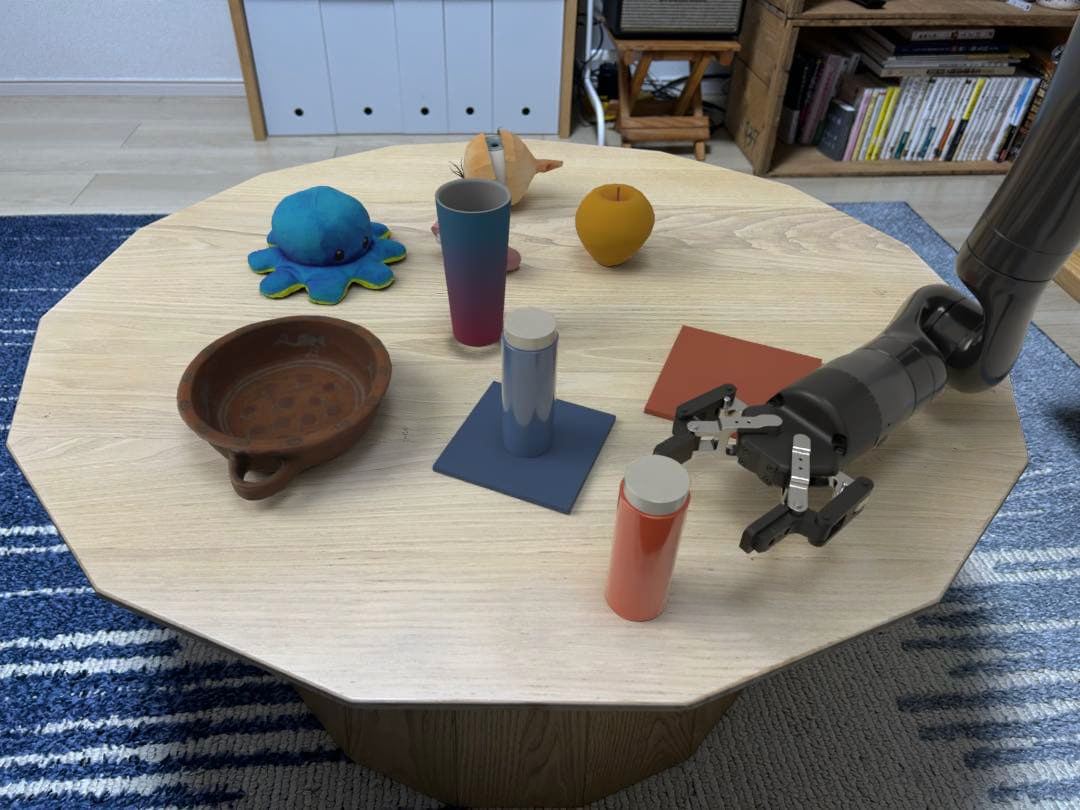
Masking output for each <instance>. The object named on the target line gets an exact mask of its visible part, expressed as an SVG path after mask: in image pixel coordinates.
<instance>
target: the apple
mask: <svg viewBox="0 0 1080 810" xmlns="http://www.w3.org/2000/svg"><path fill="white" fill-rule="evenodd" d="M654 211H655V210H654V208H653V205H652V203H651V202H650V201H649V199H648V198H647V196H646V195H645V194H644V193H643V192H642V191H641V190H639V189H638V188H636V187H634V186H632V185H629V184H625V183H605V184H602V185H599V186H597V187H594V188H593V189H592V190H590V191H589V192H588V194H586V195H585V196H584V197H583V198H582V199H581V200H580V202H579V205H578V207H577V209H576V212H575V216H574V223H575V224H574V227H575V230H576V234H577V236H578V239H579V241H580V242H581V244H582V245H583V247H584V249H585V250H586V252H587V253H588V254H589V255H590V257H591V258H592V260H594V261H595V262H597V263H598V264H599V265H602V266H604V267H613V266H618V265H621V264H623V263H625V262H626V261H628V260H629V259H630V258H631V257H632V256H633V255H635V254H636V253H637V252H639V251H640V250H641V249H642V247H643V246H644V245H645V243H646V242H647V240H648V239H649V237H650V236H651V234H652V232H653V229H654V226H655V223H656V214H655V212H654Z"/></svg>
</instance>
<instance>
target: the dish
mask: <svg viewBox="0 0 1080 810" xmlns="http://www.w3.org/2000/svg"><path fill="white" fill-rule="evenodd" d="M392 374H393V366H392V362H391V357H390V354H389V351H388V349H387V348H386V346H385V344H384V343H383V342H382V340H381V339H380V338H378V336H376V335H375V334H374V333H373V332H371V331H370V330H369V329H367V328H366V327H364V326H362V325H360V324H357V323H354V322H351V321H349V320H345V319H342V318H337V317H332V316H327V315H316V314H313V315H312V314H299V315H298V314H297V315H289V316H282V317H276V318H271V319H266V320H262V321H257V322H254V323H249V324H247V325H244V326H242V327H238V328H237V329H235V330H233V331H229V332H228V333H226V334H224V335H223V336H221V337H219V338H217V339H215V340H214V341H212V342H211V343H210V344H207V346H205V347H204V348H203V349H201V351H199V353H198V354H196V355H195V357H194V358H193V359H192V360H191V361H190V363H188V366H187V367H185V370H184V371H183V373H182V375H181V378H180V380H179V383H178V387H177V390H176V407H177V411H178V413H179V415H180V418H181V419H182V420H183V422H184V423H185V425H186V426H187V427H188V429H190V430H191V431H192V432H193V433H195V435H197V436H198V437H199V438H201V439H202V440H203V441H206V442H207V443H208V444H209V445H210V446H211V447H212V448H213V449H214V450H216V451H217V452H218V453H219V454H221V456H223V457H224V458H225V459H227V460H228V466H227V467H228V468H227V470H228V475H229V479H230V482H231V485H232V487H233V489H234V491H235V493H236V494H237V495H238V497H240V498H241V499H243V500H246V501H249V502H251V501H252V502H256V501H260V500H261V501H262V500H265V499H268V498H271V497H274V496H275V495H277V494H279V493H280V492H282V491H284V490H285V489H286V488H287V487H288V486H289V485H290V484H291V483H292V482H293V480H294V479H295V478H296V477H297V476H298V474H299V473H300V472H301V471H302V470H304V469H307V468H310V467H314V466H317V465H319V464H322V463H324V462H327V461H329V460H331V459H333V458H335V457H337V456H339V455H341V454H342V453H344V452H346V451H347V450H348V449H350V448H351V447H353V445H355V444H356V443H357V442H358V441H359V440H360V439H361V438H362V437H363V436H364V435H365V433H366V432H367V431H368V430H369V428H370V427H371V426H372V424H373V421H374V420H375V417H376V416H377V413H378V410H379V407H380V405H381V402H382V400H383V398H384V397H385V395H386V393H387V391H388V389H389V387H390V383H391V379H392ZM251 471H254V472H255V471H256V472H275V473H274V474H271V475H270V476H269V477H267V478H266V479H263V480H261V481H255V482H252V481H246V480H244V479H245V476H246V475H247V473H248V472H251Z"/></svg>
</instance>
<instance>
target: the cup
mask: <svg viewBox="0 0 1080 810" xmlns="http://www.w3.org/2000/svg"><path fill="white" fill-rule="evenodd" d="M511 198H512V195H511V191H510V190H509V188H507V187H506V186H505V185H503V184H502V183H499V182H497V181H494V180H490V179H484V178H463V179H462V178H457V179H453V180H451V181H447V182H445V183H443V184H442V185H440V186H439V187H438V188H437V189H436V191H435V193H434V202H435V208H436V217H437V221H438V225H439V232H440V239H441V246H440V247H441V254H442V261H443V268H444V276H445V282H446V283H445V284H446V290H447V298H448V299H447V300H448V305H449V306H448V307H449V313H450V322H451V329H452V334H453V337H454V338H455V339H456V341H458V342H459V343H461V344H463V345H466V346H469V347H486V346H489V345H492V344H494V343H496V342H497V341H499V339H501V334H502V331H503V329H504V317H505V316H504V314H505V303H506V302H505V301H506V286H507V272H508V271H507V257H508V246H509V243H510V241H509V240H510V229H511V228H510V227H511V214H512V213H511V212H512V206H511Z"/></svg>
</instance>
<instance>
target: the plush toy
mask: <svg viewBox="0 0 1080 810" xmlns="http://www.w3.org/2000/svg"><path fill="white" fill-rule="evenodd" d="M270 223H271V225H270V226H271V230H270V231H269V232H268V234H267V235H266V243H267V246H268V247H266V248H263V249H258V250H254V251H252V252H250V253H249V254H248V255H247V263H248V266H249V267H250V270H251V271H252V272H253V273H256V274H264V273H268V272H269V274H267V275H266V276H264V278H262V280H261V281H260V282H259V289H258V291H259V292H260V293H261V294H263V296H265V297H269V298H271V299H272V298H273V299H275V298H283V297H285V296H288V295H290V294H291V293H294V292H296V291H299V290H300V289H302V288H305V290H306V292H307V298H308V300H309V302H312V303H317V304H318V305H327V306H329V305H336V304H339V303H340V302H341V301H343V299H344V297H346V296H347V295H346V294H347V293H348V290H349V287H350V286H351V284H352V283H353V282H354V283H357V284H359V285H361V286H363V287H364V288H366V289H371V290H372V289H374V290H380V289H383V288H386V287H389V286H390V285H391V284H392V283H393V281H394V280H395V279H396V276H395V273H394V271H393V270H392V268H390V266H388V265H387V264H388V263H393V262H398V261H400V260H403V259H404V258H406V257H407V254H408V253H407V252H408V251H407V248H406V246H405V245H404V244H403V243H401V242H400V241H397V240H392V239H390V238H389V236H391V230H390V229H389V227H388V226H387V225H386V224H383V223H381V222H377V221H371V217H370V215H369V213H368V210H367V208H366V207H365V206H364V204H363V203H362V202H361V201H360V200H358V199H357V198H355V197H354V196H352V195H350V194H347V193H345V192H343V191H341V190H339V189H337V188H335V187H332V186H329V185H316V186H311V187H309V188H306V189H304V190H299V191H297V192H295V193H292V194H288V195H287V196H285V197H284V198H282V199H281V200H280V201H279V203H278V204H277V205H276V206H275V208H274V211H273V214H272V216H271V222H270Z"/></svg>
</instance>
